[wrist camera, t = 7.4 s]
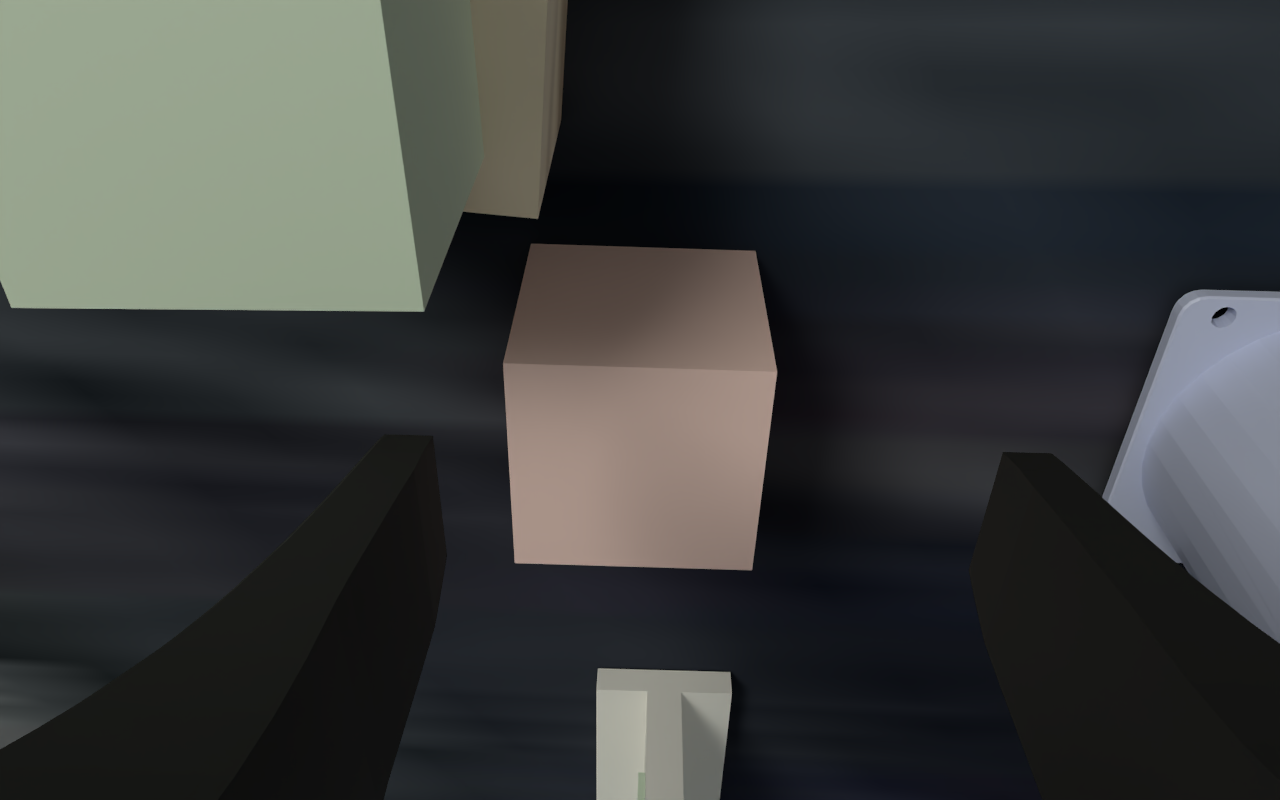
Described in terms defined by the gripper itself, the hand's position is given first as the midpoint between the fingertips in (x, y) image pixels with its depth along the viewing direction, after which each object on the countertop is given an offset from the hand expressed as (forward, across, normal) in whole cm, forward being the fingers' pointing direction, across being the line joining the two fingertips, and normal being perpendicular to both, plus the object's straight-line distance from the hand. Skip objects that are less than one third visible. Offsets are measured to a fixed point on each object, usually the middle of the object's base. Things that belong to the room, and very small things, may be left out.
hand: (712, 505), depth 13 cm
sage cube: (+6, +6, -5) cm, 10 cm away
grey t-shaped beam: (+10, 0, +19) cm, 22 cm away
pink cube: (+10, +1, +4) cm, 11 cm away
